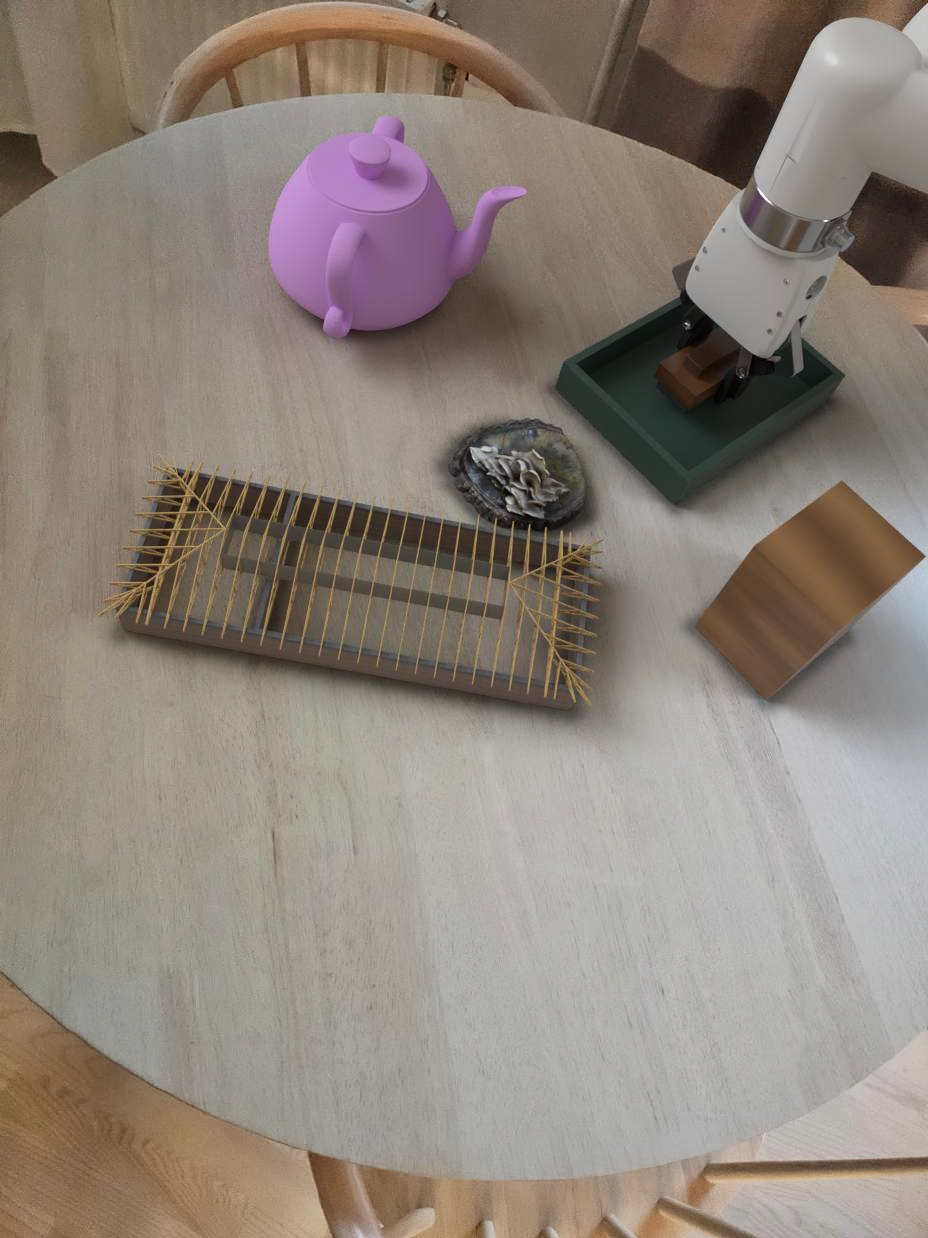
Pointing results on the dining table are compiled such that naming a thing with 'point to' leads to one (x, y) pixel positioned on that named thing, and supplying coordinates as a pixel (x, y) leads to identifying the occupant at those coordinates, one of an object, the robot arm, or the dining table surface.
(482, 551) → the rafter model
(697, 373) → the brush
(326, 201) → the teapot
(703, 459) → the tray
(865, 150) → the robot arm
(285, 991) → the dining table surface
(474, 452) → the log
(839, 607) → the stand
